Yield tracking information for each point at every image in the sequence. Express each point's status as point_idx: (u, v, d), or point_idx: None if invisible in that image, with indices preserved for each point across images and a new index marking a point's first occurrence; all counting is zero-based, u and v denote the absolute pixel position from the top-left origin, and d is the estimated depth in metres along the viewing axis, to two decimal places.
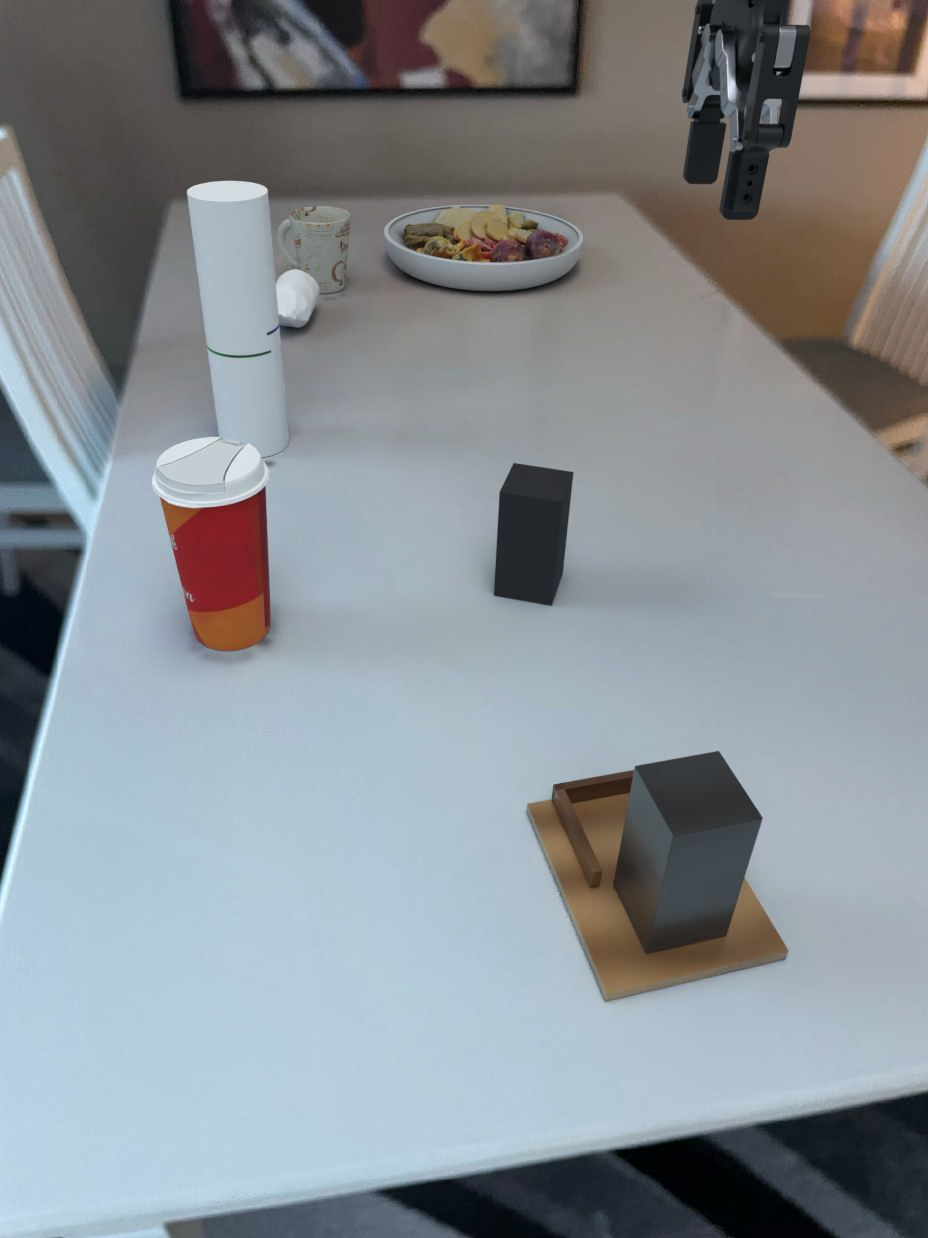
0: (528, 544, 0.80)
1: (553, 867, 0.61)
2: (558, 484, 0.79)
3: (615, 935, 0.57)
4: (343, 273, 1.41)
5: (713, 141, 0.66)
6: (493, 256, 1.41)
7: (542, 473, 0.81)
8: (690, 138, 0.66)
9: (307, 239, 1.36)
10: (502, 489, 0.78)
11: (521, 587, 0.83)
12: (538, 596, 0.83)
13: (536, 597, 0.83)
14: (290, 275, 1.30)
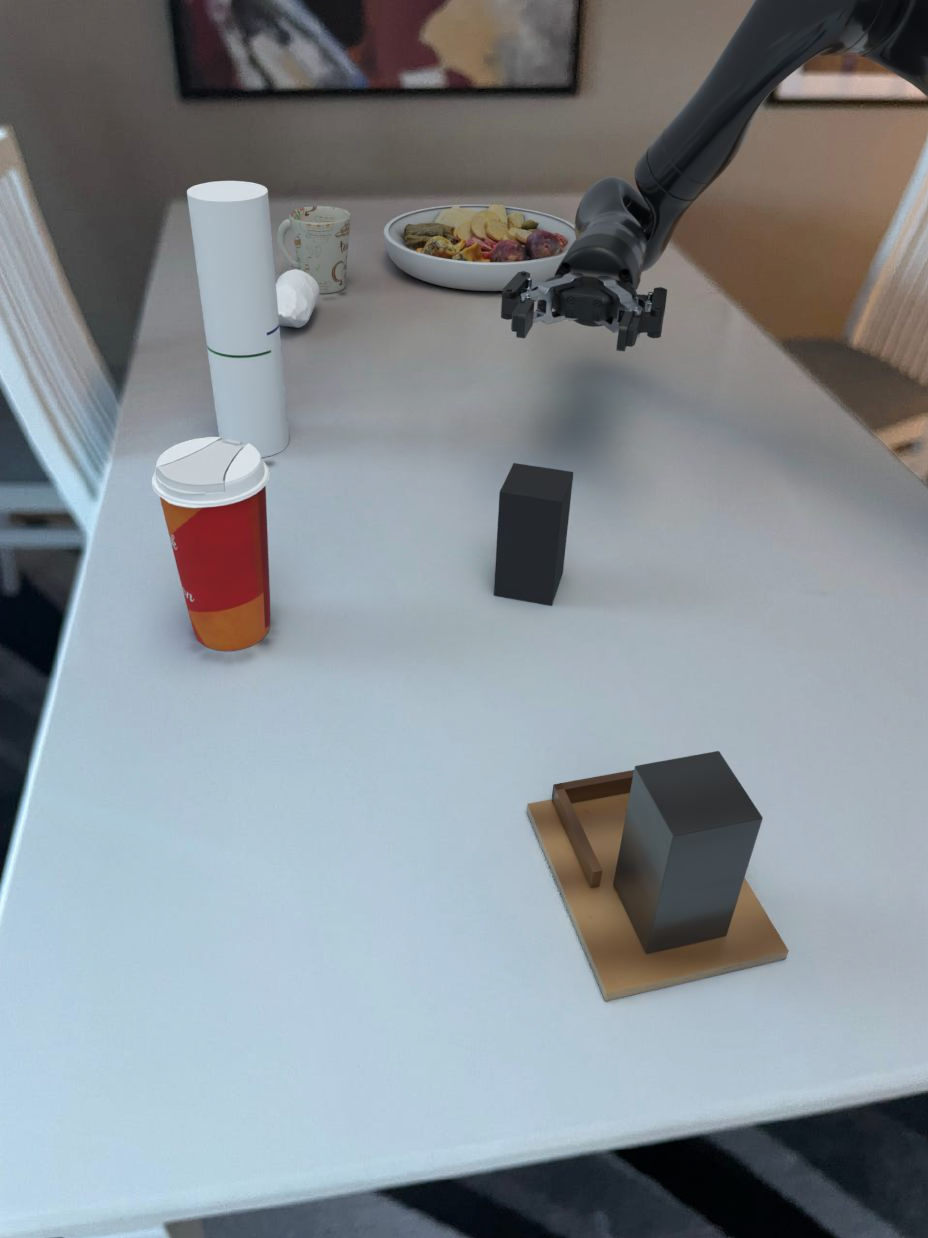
0: (528, 544, 0.80)
1: (553, 867, 0.61)
2: (558, 484, 0.79)
3: (615, 935, 0.57)
4: (343, 273, 1.41)
5: None
6: (493, 256, 1.41)
7: (542, 473, 0.81)
8: None
9: (307, 239, 1.36)
10: (502, 489, 0.78)
11: (521, 587, 0.83)
12: (538, 596, 0.83)
13: (536, 597, 0.83)
14: (290, 275, 1.30)
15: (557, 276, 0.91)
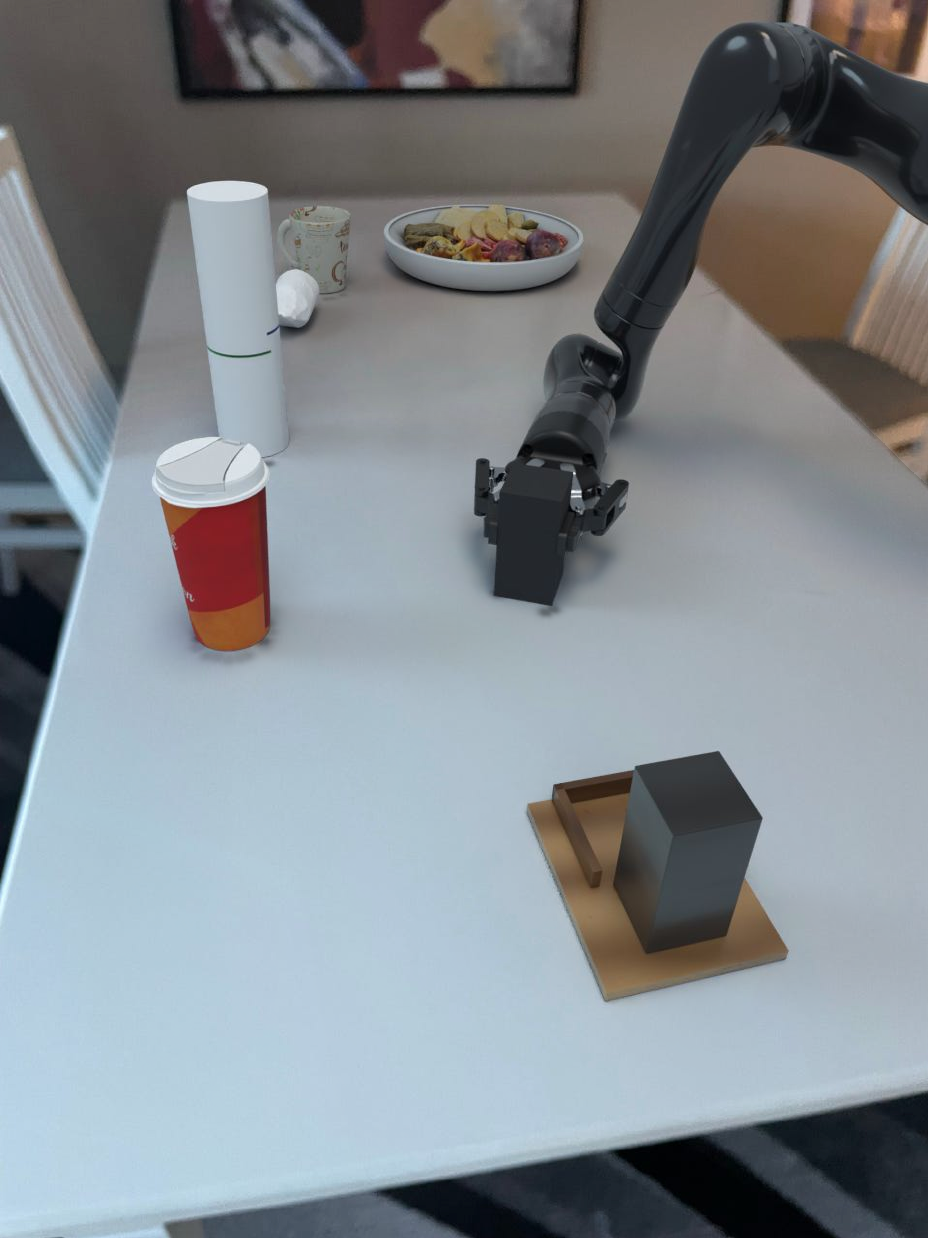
0: (528, 544, 0.80)
1: (553, 867, 0.61)
2: (558, 484, 0.79)
3: (615, 935, 0.57)
4: (343, 273, 1.41)
5: None
6: (493, 256, 1.41)
7: (542, 473, 0.81)
8: None
9: (307, 239, 1.36)
10: (502, 489, 0.78)
11: (521, 587, 0.83)
12: (538, 596, 0.83)
13: (536, 597, 0.83)
14: (290, 275, 1.30)
15: (519, 459, 0.88)
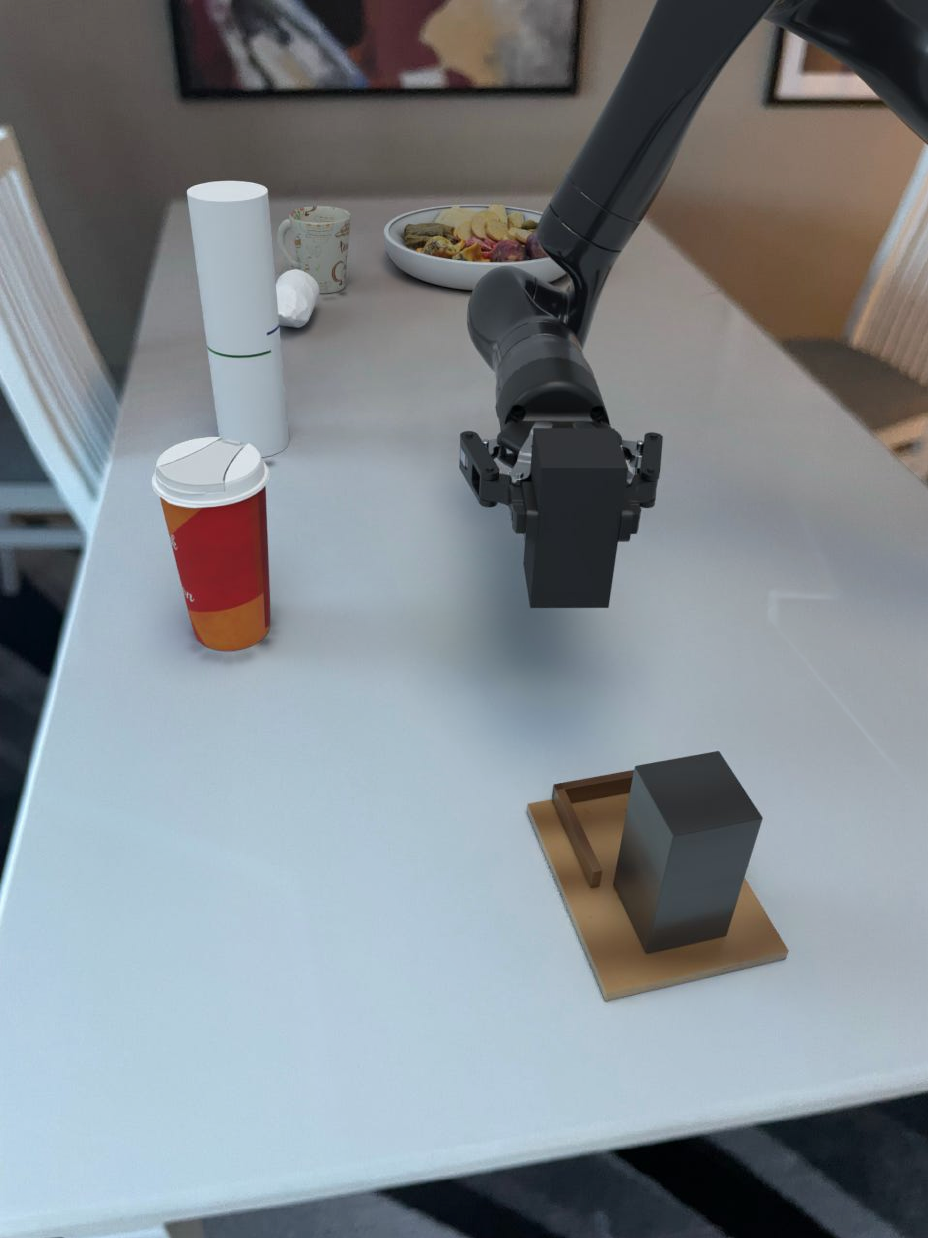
0: (580, 533, 0.60)
1: (553, 867, 0.61)
2: (608, 446, 0.59)
3: (615, 935, 0.57)
4: (343, 273, 1.41)
5: None
6: (493, 256, 1.41)
7: (578, 436, 0.60)
8: None
9: (307, 239, 1.36)
10: (543, 464, 0.57)
11: (569, 591, 0.62)
12: (591, 599, 0.63)
13: (588, 601, 0.63)
14: (290, 275, 1.30)
15: (511, 426, 0.67)
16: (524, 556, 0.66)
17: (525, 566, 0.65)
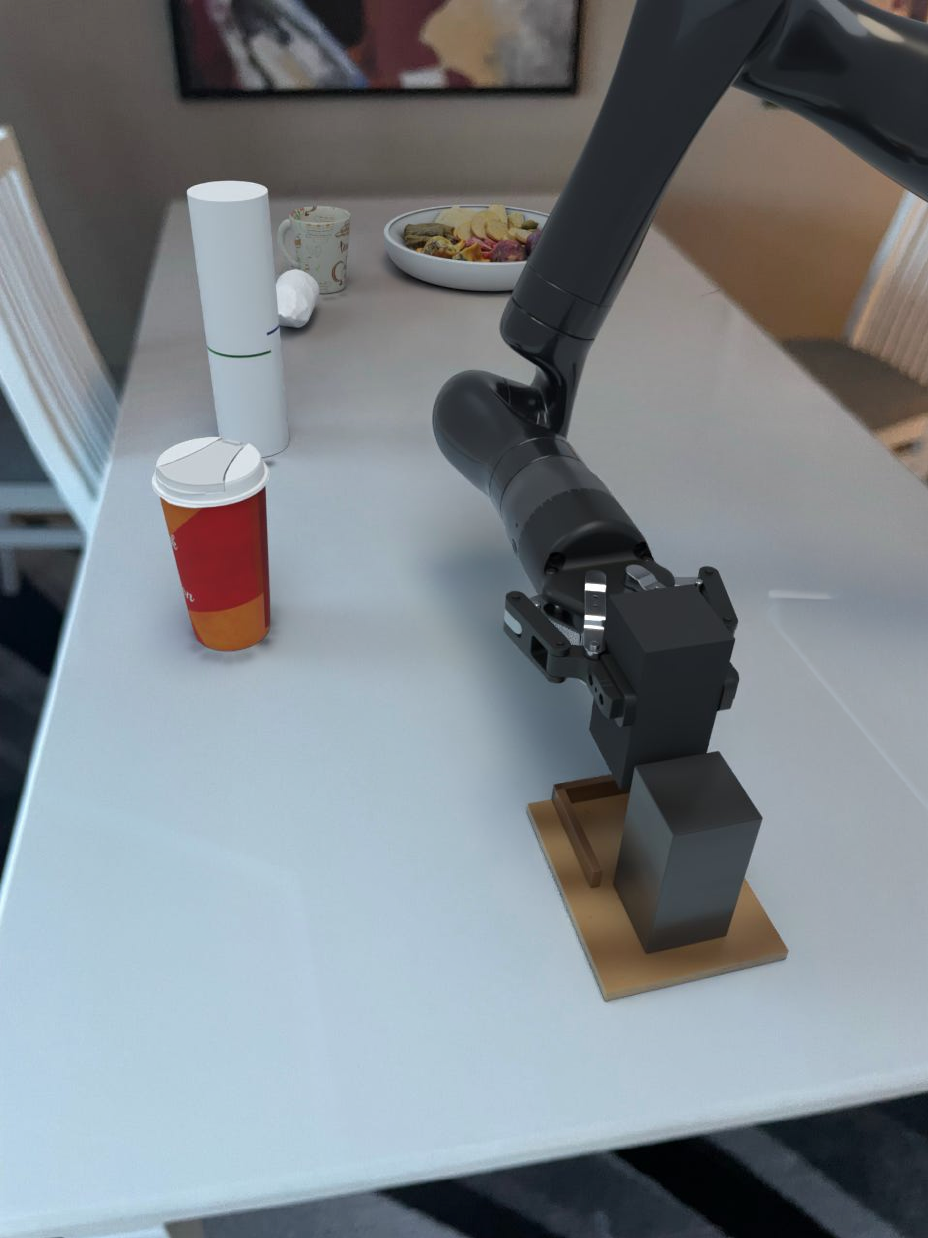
0: (679, 710, 0.53)
1: (553, 867, 0.61)
2: (700, 611, 0.53)
3: (615, 935, 0.57)
4: (343, 273, 1.41)
5: None
6: (493, 256, 1.41)
7: (661, 600, 0.53)
8: None
9: (307, 239, 1.36)
10: (644, 647, 0.50)
11: None
12: None
13: None
14: (290, 275, 1.30)
15: (555, 577, 0.60)
16: (592, 723, 0.59)
17: (597, 736, 0.58)
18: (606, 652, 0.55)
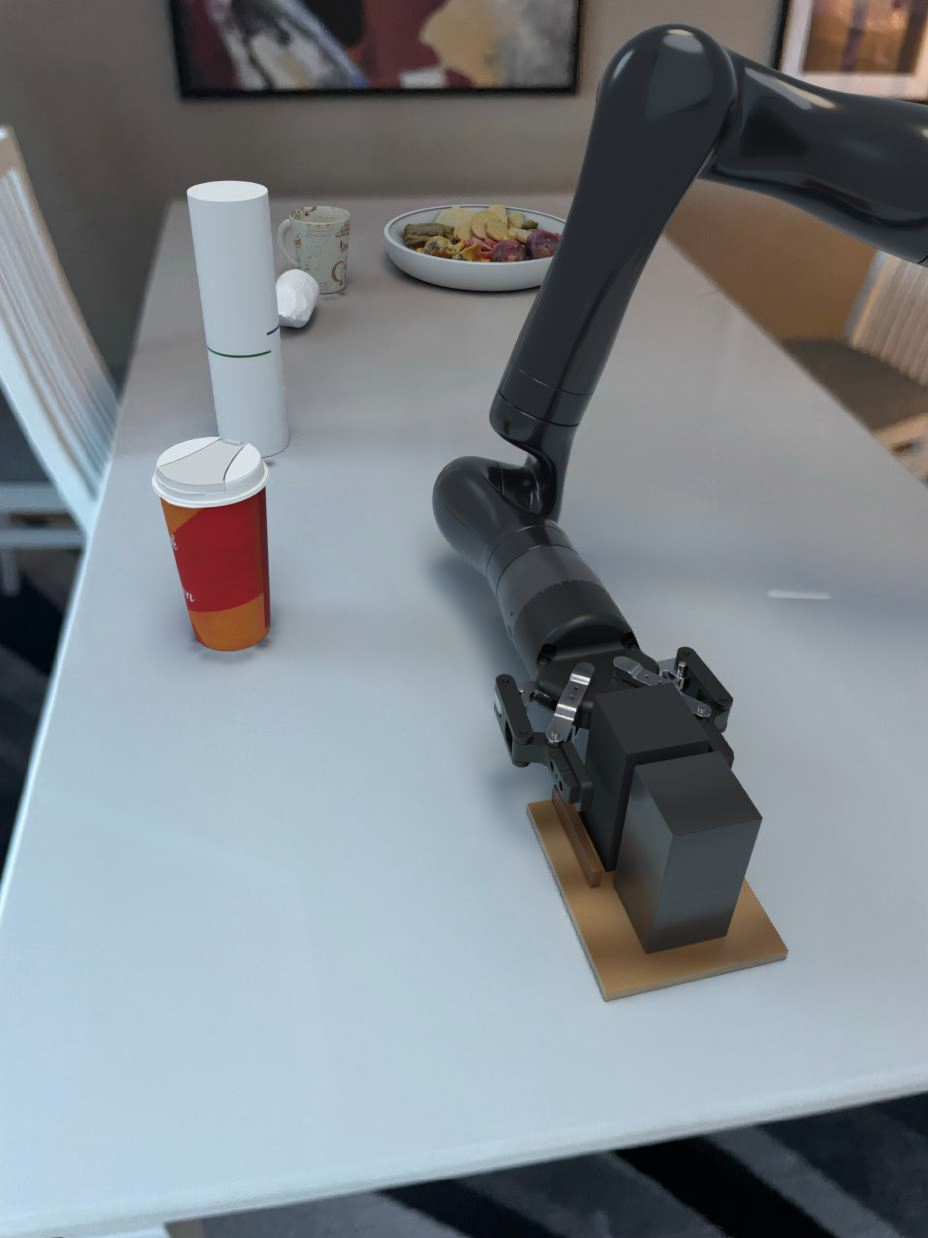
0: None
1: (553, 867, 0.61)
2: (678, 711, 0.57)
3: (615, 935, 0.57)
4: (343, 273, 1.41)
5: None
6: (493, 256, 1.41)
7: (643, 699, 0.58)
8: None
9: (307, 239, 1.36)
10: (626, 748, 0.54)
11: None
12: None
13: None
14: (290, 275, 1.30)
15: (547, 668, 0.64)
16: None
17: (585, 819, 0.63)
18: (592, 745, 0.59)
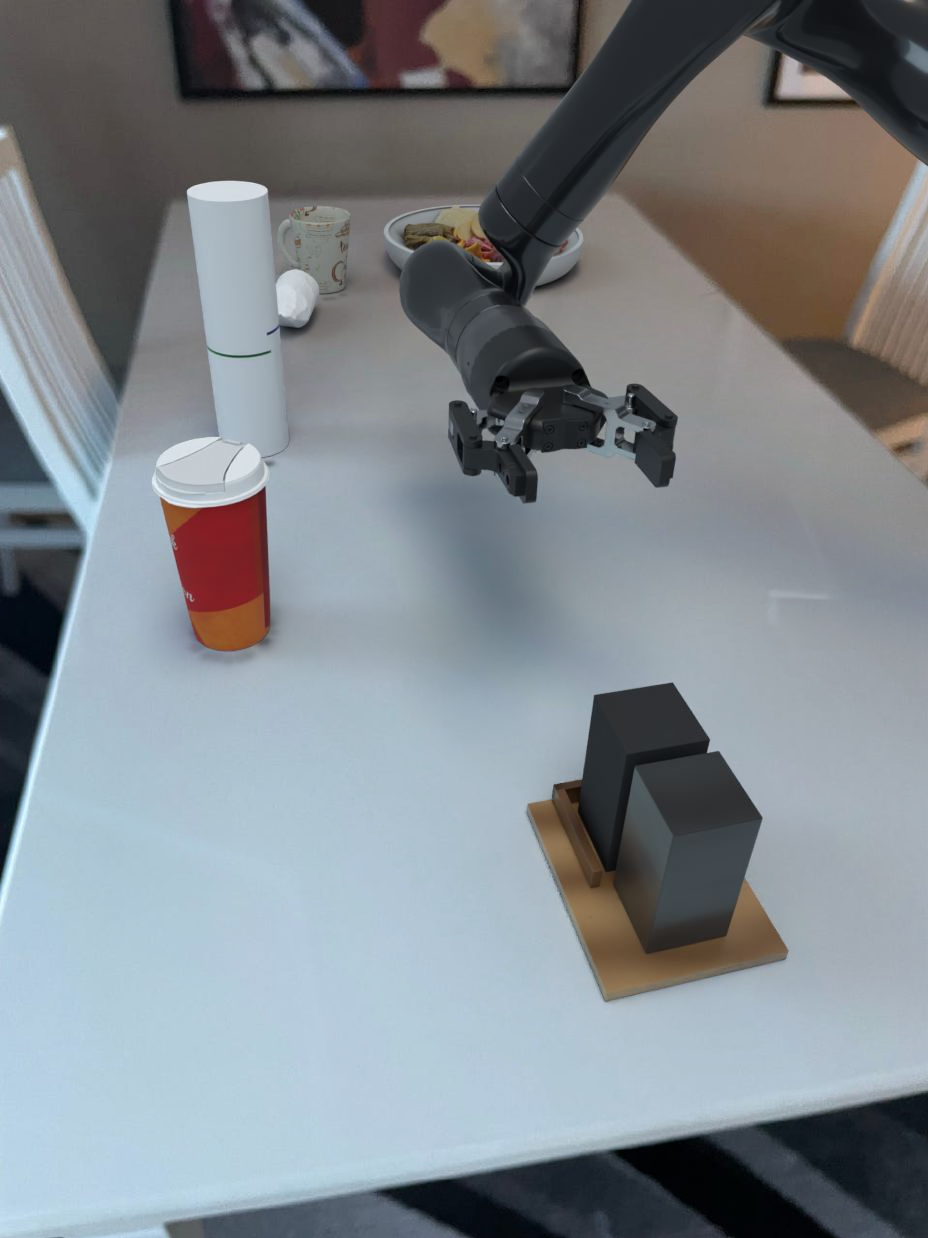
0: None
1: (553, 867, 0.61)
2: (678, 711, 0.57)
3: (615, 935, 0.57)
4: (343, 273, 1.41)
5: (644, 448, 0.62)
6: (493, 256, 1.41)
7: (643, 699, 0.58)
8: None
9: (307, 239, 1.36)
10: (626, 748, 0.54)
11: None
12: None
13: None
14: (290, 275, 1.30)
15: (499, 397, 0.66)
16: (580, 807, 0.63)
17: (585, 819, 0.63)
18: (592, 745, 0.59)
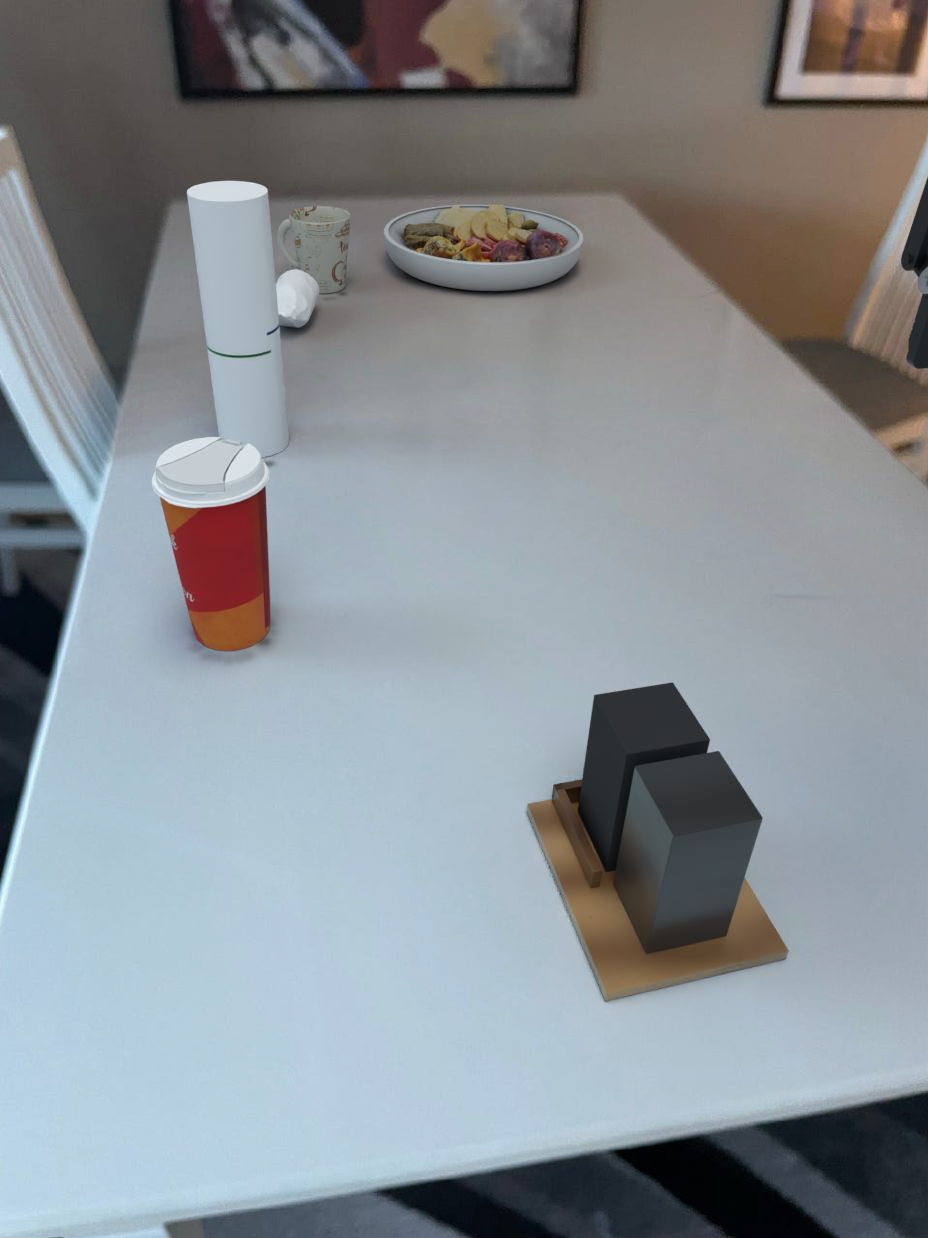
0: None
1: (553, 867, 0.61)
2: (678, 711, 0.57)
3: (615, 935, 0.57)
4: (343, 273, 1.41)
5: None
6: (493, 256, 1.41)
7: (643, 699, 0.58)
8: (925, 317, 0.52)
9: (307, 239, 1.36)
10: (626, 748, 0.54)
11: None
12: None
13: None
14: (290, 275, 1.30)
15: None
16: (580, 807, 0.63)
17: (585, 819, 0.63)
18: (592, 745, 0.59)
